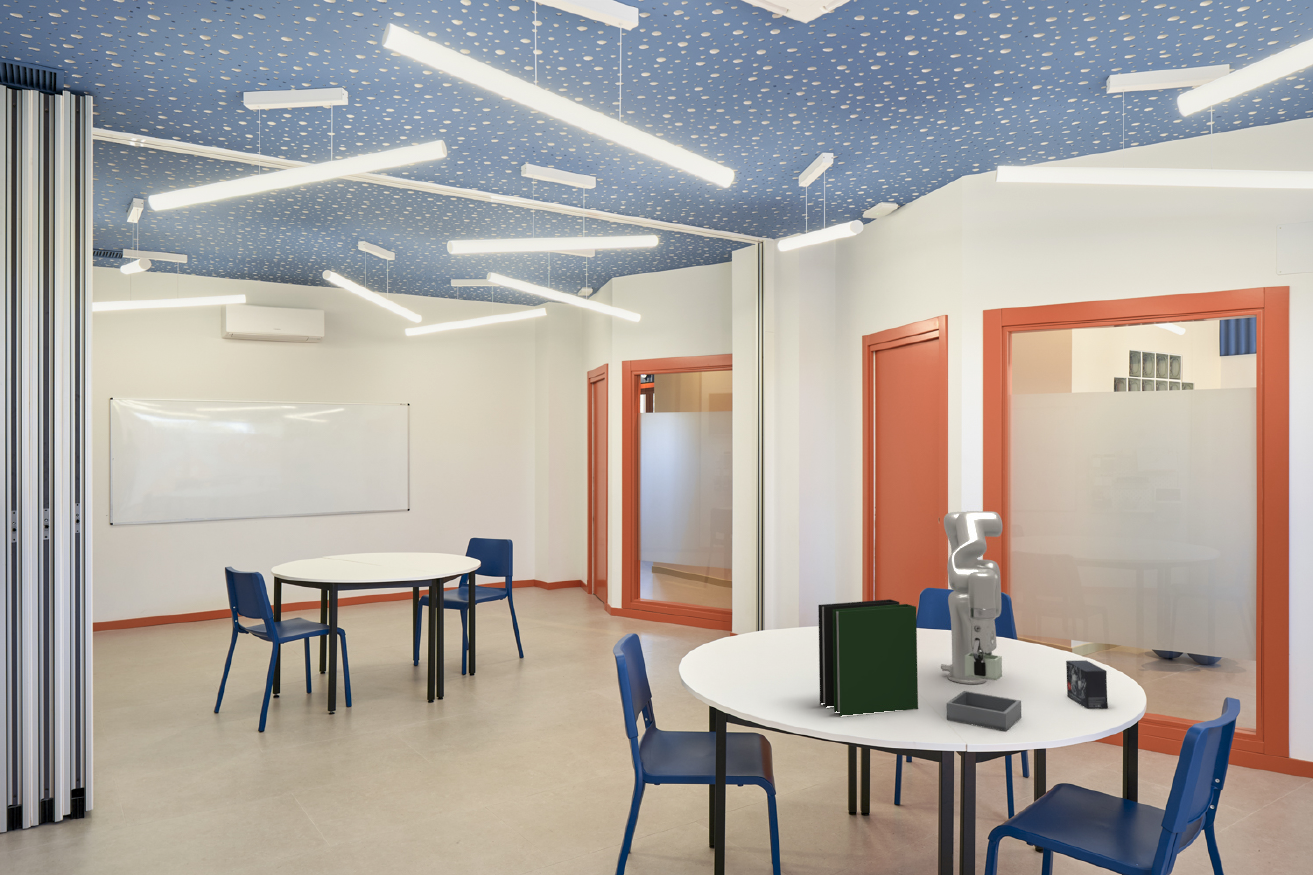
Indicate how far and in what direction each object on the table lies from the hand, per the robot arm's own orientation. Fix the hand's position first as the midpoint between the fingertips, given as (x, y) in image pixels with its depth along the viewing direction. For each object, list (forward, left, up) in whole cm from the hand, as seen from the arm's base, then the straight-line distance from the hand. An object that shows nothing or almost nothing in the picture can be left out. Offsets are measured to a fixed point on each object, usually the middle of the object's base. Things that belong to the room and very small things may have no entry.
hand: (983, 672), depth 242 cm
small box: (+21, +36, -14) cm, 44 cm away
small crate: (0, 0, -1) cm, 1 cm away
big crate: (0, 0, -14) cm, 14 cm away
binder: (-33, -10, -14) cm, 37 cm away
